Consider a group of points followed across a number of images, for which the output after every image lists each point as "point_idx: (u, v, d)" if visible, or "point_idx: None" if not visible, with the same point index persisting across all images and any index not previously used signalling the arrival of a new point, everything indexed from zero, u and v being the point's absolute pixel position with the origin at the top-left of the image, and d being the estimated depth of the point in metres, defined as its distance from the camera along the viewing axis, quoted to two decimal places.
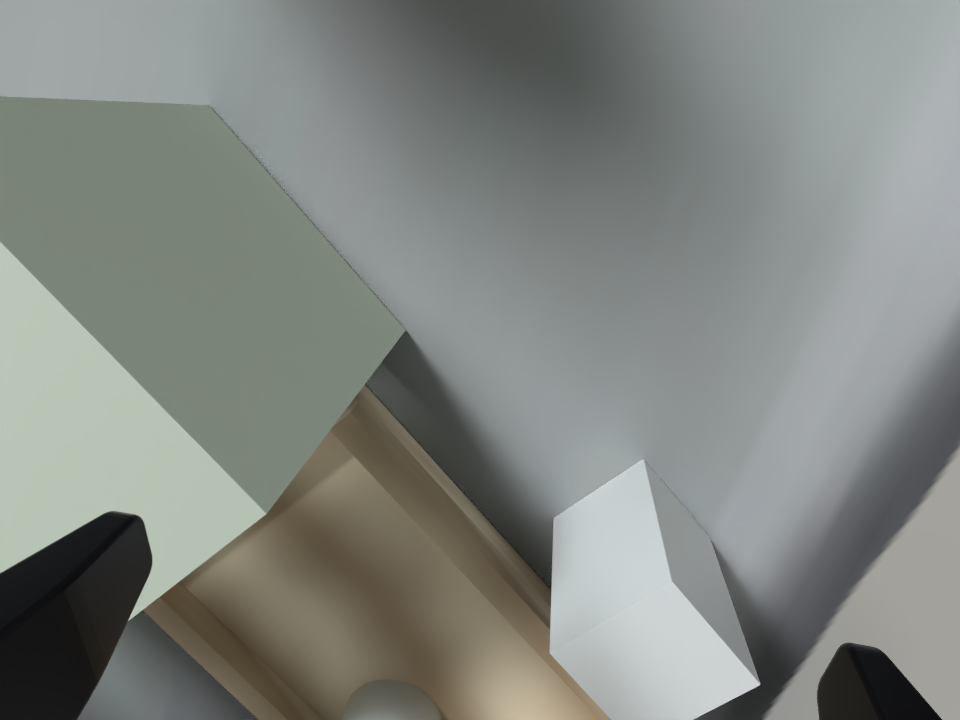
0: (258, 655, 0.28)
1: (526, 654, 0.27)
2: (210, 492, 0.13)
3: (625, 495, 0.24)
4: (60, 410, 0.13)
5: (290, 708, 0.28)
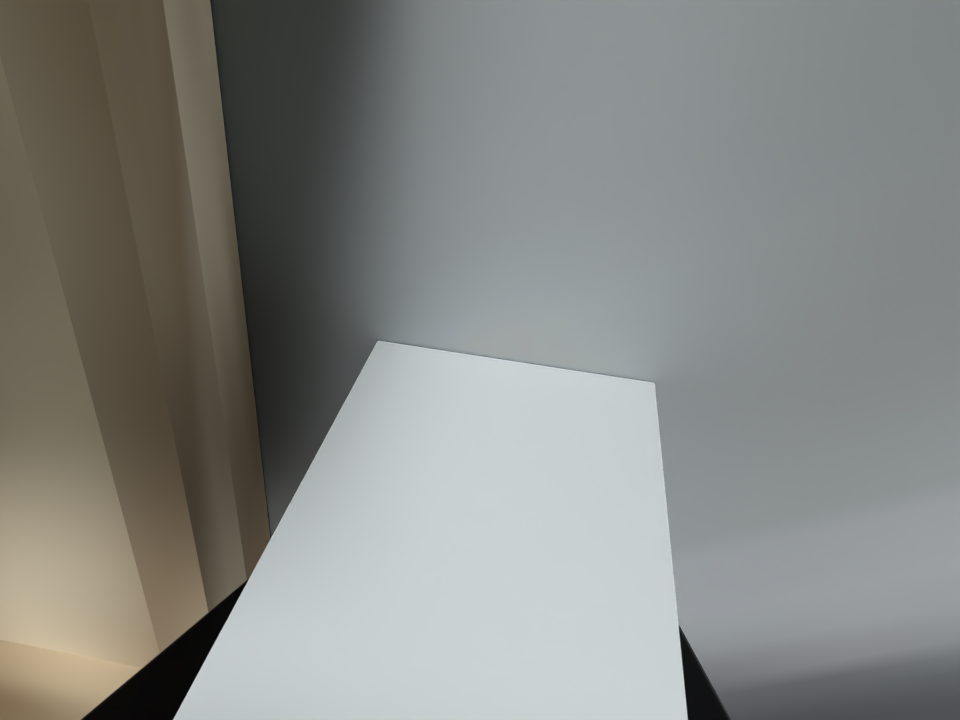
0: None
1: (121, 517, 0.12)
2: None
3: (583, 444, 0.09)
4: None
5: None
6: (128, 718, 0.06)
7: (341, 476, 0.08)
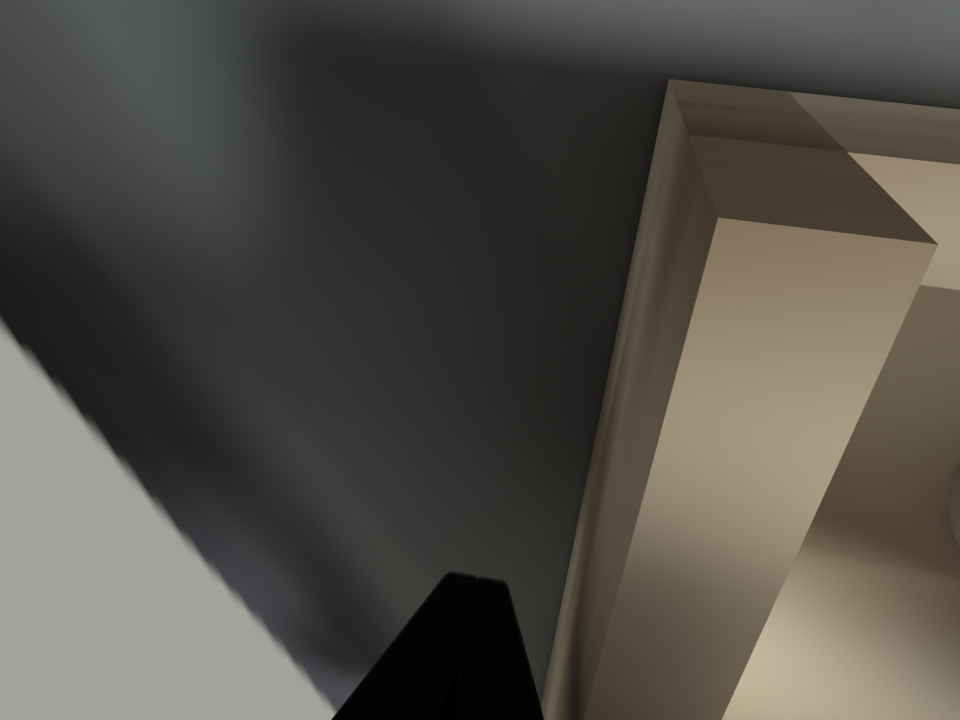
0: None
1: None
2: None
3: None
4: None
5: None
6: None
7: None
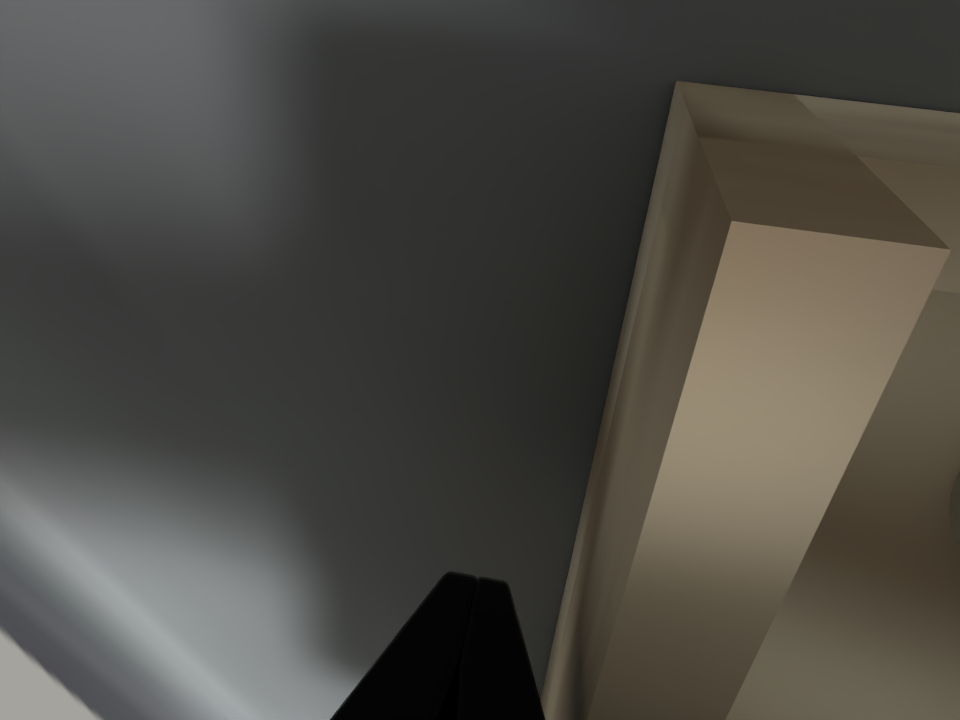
0: None
1: None
2: None
3: None
4: None
5: None
6: None
7: None
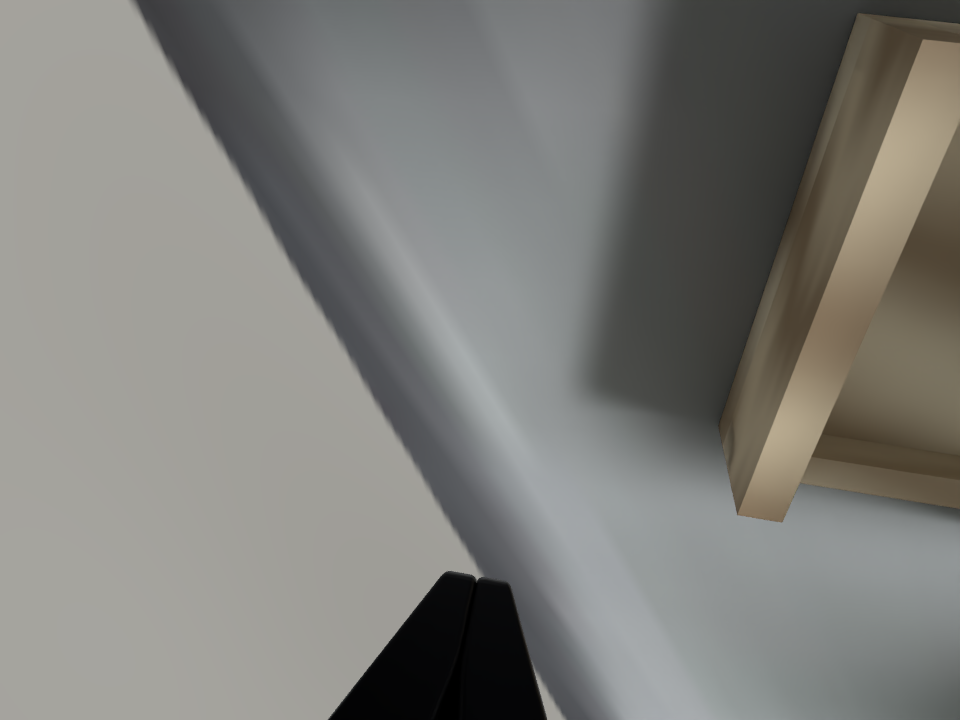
0: None
1: (935, 421, 0.20)
2: None
3: None
4: None
5: None
6: None
7: None
